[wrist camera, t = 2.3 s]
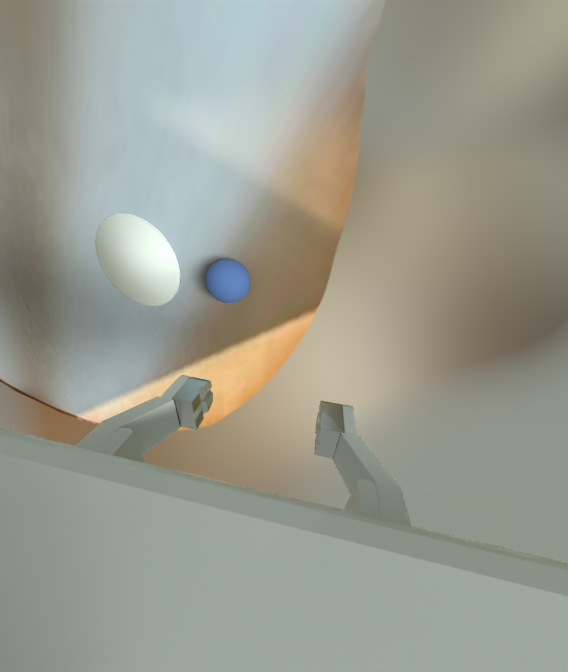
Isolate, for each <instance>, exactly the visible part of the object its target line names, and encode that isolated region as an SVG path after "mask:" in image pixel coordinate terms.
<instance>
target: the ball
mask: <svg viewBox="0 0 568 672" xmlns="http://www.w3.org/2000/svg"><path fill="white" fill-rule="evenodd" d="M206 285H207V288H208V290H209V292H210V293H211V294H212V296H213V297H215V298H216V299H217V300H219V301H222V302H225V303H234V302H237V301H239V300H241V299H242V298H244V297H245V295H246V294H247V293H248V291H249V288H250V276H249V273H248V271H247V270H246V268H245V267H244V266H243V265H242V264H241V263H239V262H238V261H236V260H233V259H221V260H218V261H216V262H215V263H213V264H212V265H211V266H210V268H209V269H208V271H207V274H206Z"/></svg>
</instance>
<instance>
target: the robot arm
mask: <svg viewBox="0 0 568 672" xmlns="http://www.w3.org/2000/svg"><path fill="white" fill-rule="evenodd" d="M211 387H212V384H211V381H209V380H204V379H200V378H195V377H189V376H184V375H182V376H180V377H179V378H178V379H177V380H176V381H175V382H174V383H173V384H172V385H171V386H170V387H169V388H168V389H167V391H166V392H165V393H164V394H163V395H162V396H161V397H156V398H153V399H151V400H149V401H147V402H144V403H142V404H140V405H138V406H136V407H133V408H131V409H129V410H127V411H124V412H122V413H120V414H118V415H115V416H113V417H111V418H109V419H107V420H104V421H102V422H101V423H100V424H99V425H98V426H97V427H96V428H95V429H93V431H91V432H90V433H89V434H88V435H87V436H86V437H85V438H84V439H82V440H81V441H80V442H79V443H78V444H77V445H76V446H71V445H67V444H63V443H59V442H55V441H50V440H46V439H42V438H38V437H34V436H29V435H25V434H21V433H17V432H13V431H8V430H4V429H0V672H568V563H567V562H563V561H559V560H555V559H550V558H546V557H542V556H537V555H533V554H529V553H525V552H520V551H516V550H512V549H508V548H504V547H499V546H495V545H491V544H487V543H482V542H478V541H474V540H470V539H466V538H461V537H457V536H453V535H449V534H444V533H440V532H436V531H431V530H427V529H423V528H419V527H414V526H411V523H410V519H409V515H408V512H407V508H406V504H405V500H404V497H403V493H402V489H401V487H400V485H399V484H398V483H397V481H396V480H395V479H394V478H393V476H392V475H391V474H390V473H389V471H388V470H387V469H386V468H385V466H384V465H383V464H382V463H381V461H380V460H379V459H378V458H377V456H376V455H375V454H374V452H373V451H372V450H371V449H370V448H369V446H368V445H367V444H366V442H365V441H364V440H363V439H362V437H360V436H358V435H357V428H356V421H355V414H354V408H353V406H349V405H343V404H342V405H341V404H337V403H331V402H325V401H321V402H320V406H319V413H318V416H317V422H316V432H315V433H316V439H315V452H314V454H315V455H320V456H323V457H328V458H332V459H333V461H334V463H335V465H336V467H337V469H338V471H339V473H340V475H341V477H342V479H343V481H344V483H345V484H346V487H347V488H348V490H349V492H350V494H351V495H350V498H349V500H348V502H347V504H346V507H345V509H344V510H343V509H338V508H334V507H330V506H325V505H321V504H317V503H313V502H309V501H304V500H300V499H296V498H292V497H288V496H283V495H279V494H274V493H271V492H267V491H262V490H258V489H254V488H250V487H245V486H241V485H237V484H233V483H228V482H224V481H220V480H215V479H211V478H207V477H203V476H199V475H194V474H190V473H186V472H182V471H177V470H172V469H169V468H164V467H160V466H156V465H152V464H148V463H146V461H145V459H144V456H143V453H145V452H146V451H148V450H149V449H151V448H152V447H153V446H155V445H156V444H158V443H159V442H161V441H162V440H163V439H165V438H166V437H168V436H169V435H170V434H172V433H173V432H175V431H176V430H178V429H179V428H180V427H185V428H191V429H197V428H198V427H199V425H200V424H201V422H202V420H203V419H204V417H203V414H204V413H206V412H208V411H209V409H210V407H211V404H212V401H213V393H212V392H211V390H210V389H211Z"/></svg>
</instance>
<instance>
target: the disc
mask: <svg viewBox="0 0 568 672" xmlns="http://www.w3.org/2000/svg"><path fill="white" fill-rule="evenodd" d="M96 251H97V256H98V259H99V262H100V265H101V267H102V269H103V271H104V273H105V274H106V276H107V277H108V279H109V280H110V282H111V283H112V284H113V285H114V286H115V287H116V288H117V289H118V290H119V291H120V292H121V293H122V294H123V295H125V296H126V297H128V298H129V299H131V300H133V301H135V302H137V303H139V304H142V305H146V306H160V305H163V304H166V303H167V302H169V301H170V300H171V299H173V298H174V296H175V295H176V293H177V291H178V289H179V285H180V268H179V263H178V260H177V257H176V255H175V253H174V250H173V249H172V247H171V245H170V244H169V242H168V241H167V239H166V238H165V237H164V236H163V234H162V233H161V232H160V231H159V230H158V229H157V228H156V227H154V226H153V225H152V224H151V223H149V222H147V221H146V220H144V219H142V218H140V217H138V216H135V215H131V214H114V215H111V216H109V217H108V218H106V219H105V220H104V221H103V222H102V223H101V224H100V226H99V228H98V231H97V234H96Z"/></svg>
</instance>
